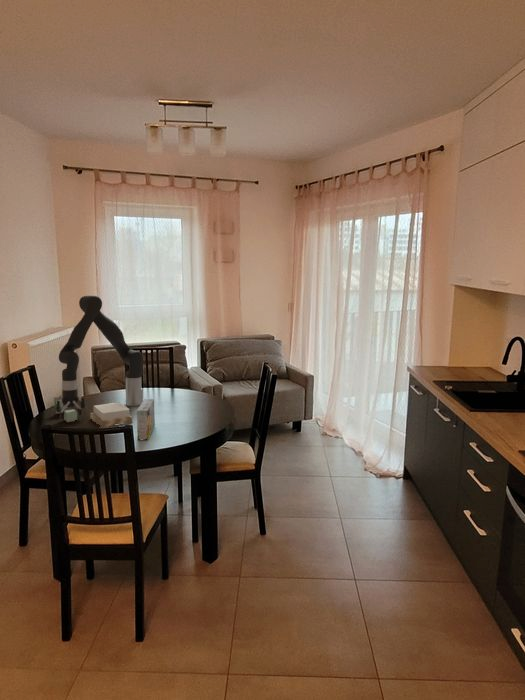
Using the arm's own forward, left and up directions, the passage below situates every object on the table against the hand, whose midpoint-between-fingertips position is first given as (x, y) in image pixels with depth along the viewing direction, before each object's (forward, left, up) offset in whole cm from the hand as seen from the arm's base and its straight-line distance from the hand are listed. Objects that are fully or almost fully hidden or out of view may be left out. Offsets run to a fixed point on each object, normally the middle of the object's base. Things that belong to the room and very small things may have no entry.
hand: (70, 417), depth 241 cm
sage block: (0, 0, -2) cm, 2 cm away
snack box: (-24, +41, -2) cm, 48 cm away
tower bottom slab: (-17, +13, -2) cm, 22 cm away
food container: (-2, -15, -2) cm, 15 cm away
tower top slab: (-17, +13, +2) cm, 22 cm away
